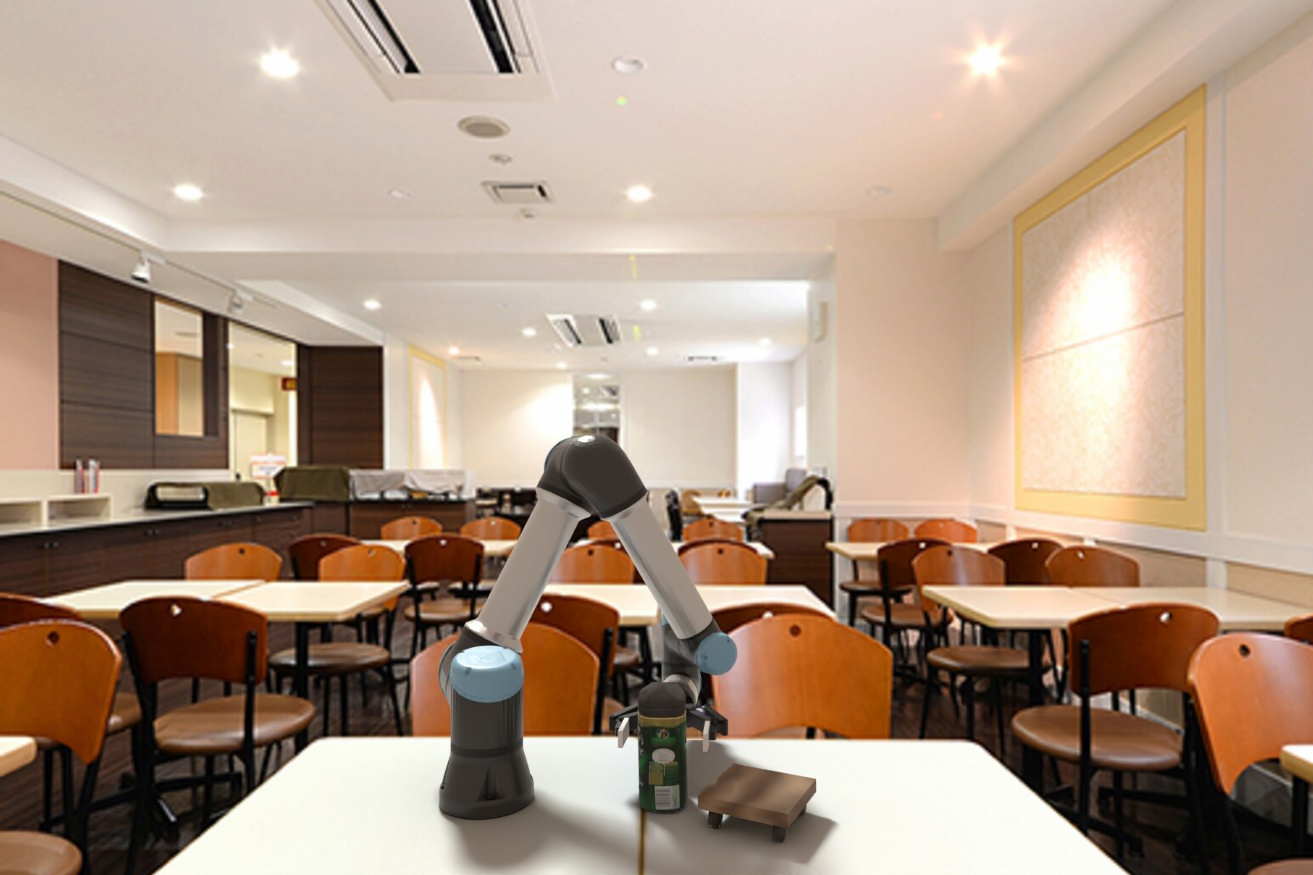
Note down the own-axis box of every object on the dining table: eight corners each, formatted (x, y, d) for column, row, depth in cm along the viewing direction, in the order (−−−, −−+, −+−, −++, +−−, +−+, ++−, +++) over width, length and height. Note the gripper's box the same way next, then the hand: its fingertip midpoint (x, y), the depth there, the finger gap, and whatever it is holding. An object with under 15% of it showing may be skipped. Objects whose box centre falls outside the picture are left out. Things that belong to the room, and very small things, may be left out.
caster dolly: (697, 828, 118) (697, 794, 118) (733, 793, 131) (733, 763, 131) (788, 849, 112) (788, 813, 112) (816, 810, 124) (816, 778, 124)
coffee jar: (639, 789, 133) (639, 677, 133) (687, 789, 132) (686, 677, 133) (636, 815, 123) (635, 694, 124) (687, 815, 123) (686, 694, 123)
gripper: (743, 723, 145) (741, 768, 124) (609, 718, 148) (585, 761, 127) (743, 682, 145) (741, 720, 124) (609, 678, 149) (585, 714, 128)
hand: (662, 741), depth 126 cm, fingers open, 13 cm apart
